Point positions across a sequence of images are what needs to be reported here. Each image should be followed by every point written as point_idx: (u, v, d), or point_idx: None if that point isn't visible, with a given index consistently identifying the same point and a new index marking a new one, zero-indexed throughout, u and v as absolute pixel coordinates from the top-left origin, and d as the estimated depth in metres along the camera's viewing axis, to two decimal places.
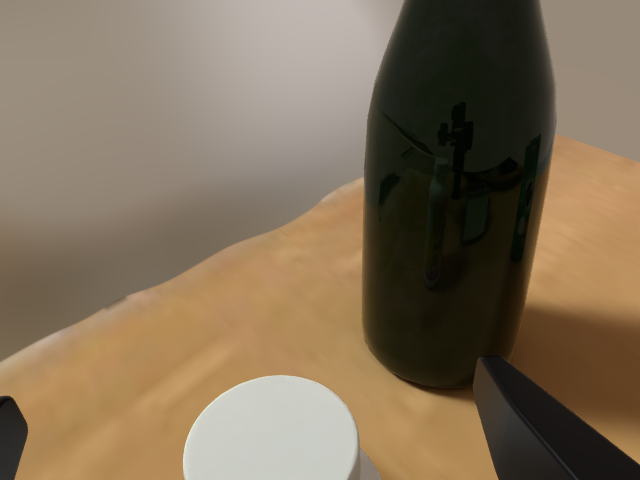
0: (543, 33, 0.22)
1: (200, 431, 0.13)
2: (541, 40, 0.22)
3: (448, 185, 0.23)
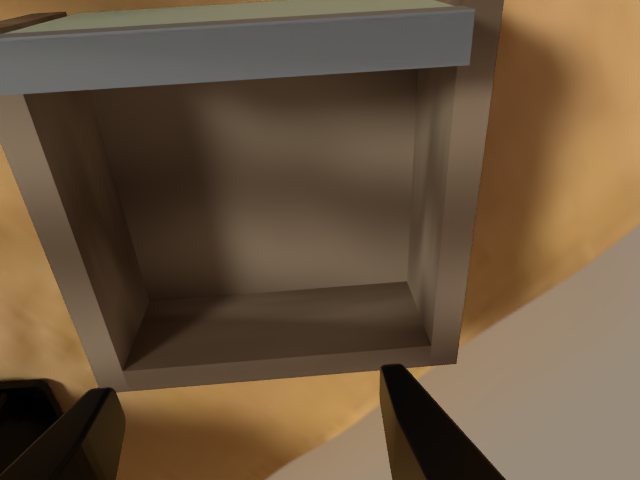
0: None
1: None
2: None
3: None
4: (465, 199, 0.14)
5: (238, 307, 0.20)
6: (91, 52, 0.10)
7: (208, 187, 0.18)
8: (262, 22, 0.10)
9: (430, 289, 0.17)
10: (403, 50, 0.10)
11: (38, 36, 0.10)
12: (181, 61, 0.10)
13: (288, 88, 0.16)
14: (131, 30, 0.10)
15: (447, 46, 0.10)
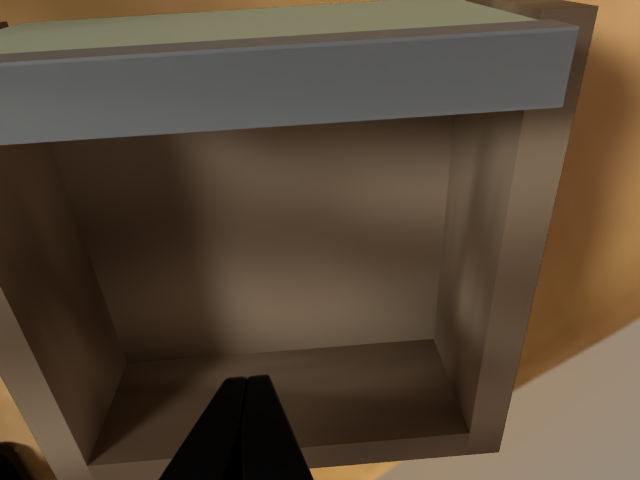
0: None
1: None
2: None
3: None
4: (524, 266, 0.11)
5: (232, 373, 0.16)
6: None
7: (194, 234, 0.15)
8: (257, 46, 0.06)
9: (470, 366, 0.13)
10: (467, 86, 0.07)
11: None
12: (136, 104, 0.07)
13: None
14: (58, 58, 0.06)
15: (532, 80, 0.07)
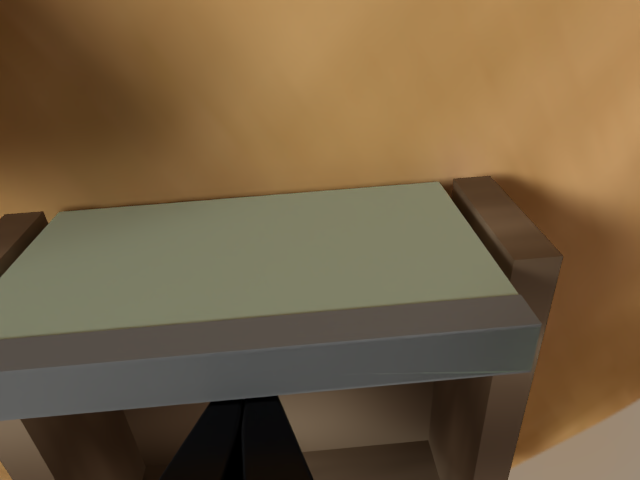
0: None
1: None
2: None
3: None
4: (506, 430, 0.12)
5: None
6: (60, 383, 0.08)
7: None
8: (275, 347, 0.08)
9: None
10: (450, 363, 0.08)
11: None
12: (173, 385, 0.08)
13: None
14: (110, 358, 0.08)
15: (504, 357, 0.08)
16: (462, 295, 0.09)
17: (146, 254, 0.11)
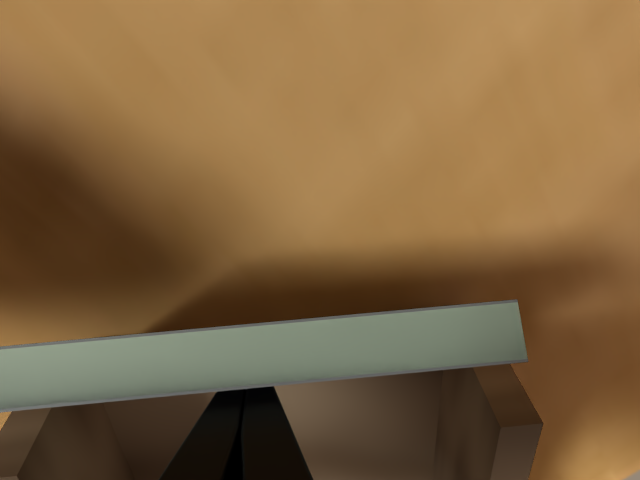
0: None
1: None
2: None
3: None
4: None
5: None
6: (75, 361, 0.08)
7: None
8: (276, 321, 0.09)
9: None
10: (443, 347, 0.09)
11: (21, 345, 0.08)
12: (178, 368, 0.08)
13: (309, 393, 0.16)
14: (127, 336, 0.09)
15: (495, 340, 0.09)
16: None
17: None
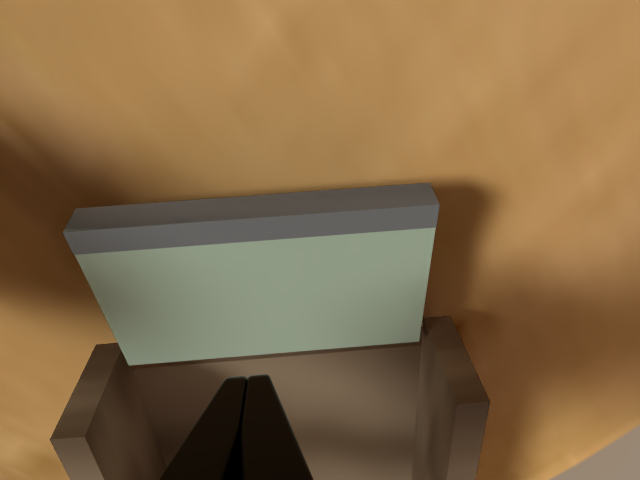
0: None
1: None
2: None
3: None
4: None
5: None
6: (154, 210, 0.13)
7: None
8: None
9: None
10: (384, 200, 0.13)
11: (123, 205, 0.14)
12: (216, 211, 0.13)
13: (309, 380, 0.19)
14: (188, 203, 0.14)
15: (417, 197, 0.13)
16: None
17: None
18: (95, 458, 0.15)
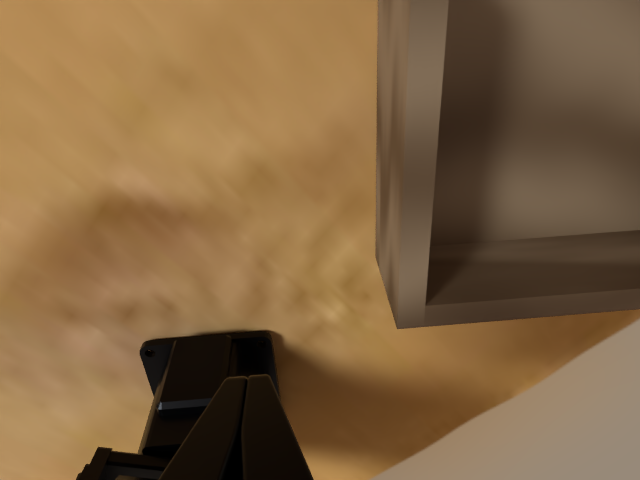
0: None
1: None
2: None
3: None
4: None
5: (496, 252, 0.20)
6: None
7: (492, 131, 0.18)
8: None
9: None
10: None
11: None
12: None
13: (597, 29, 0.17)
14: None
15: None
16: None
17: None
18: None
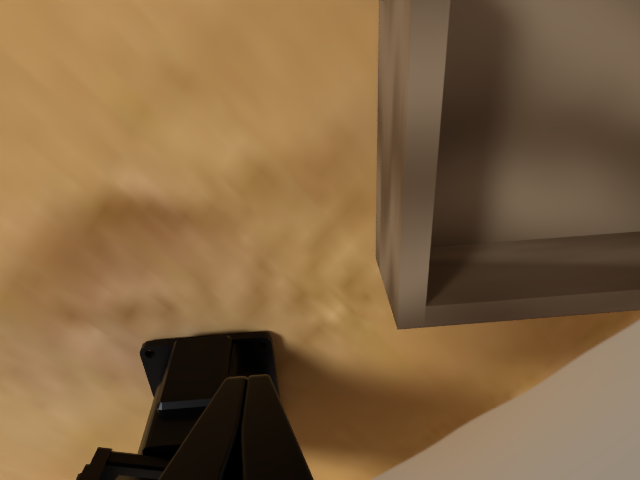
0: None
1: None
2: None
3: None
4: None
5: (496, 253, 0.20)
6: None
7: (493, 132, 0.19)
8: None
9: None
10: None
11: None
12: None
13: (597, 32, 0.17)
14: None
15: None
16: None
17: None
18: (449, 0, 0.13)
